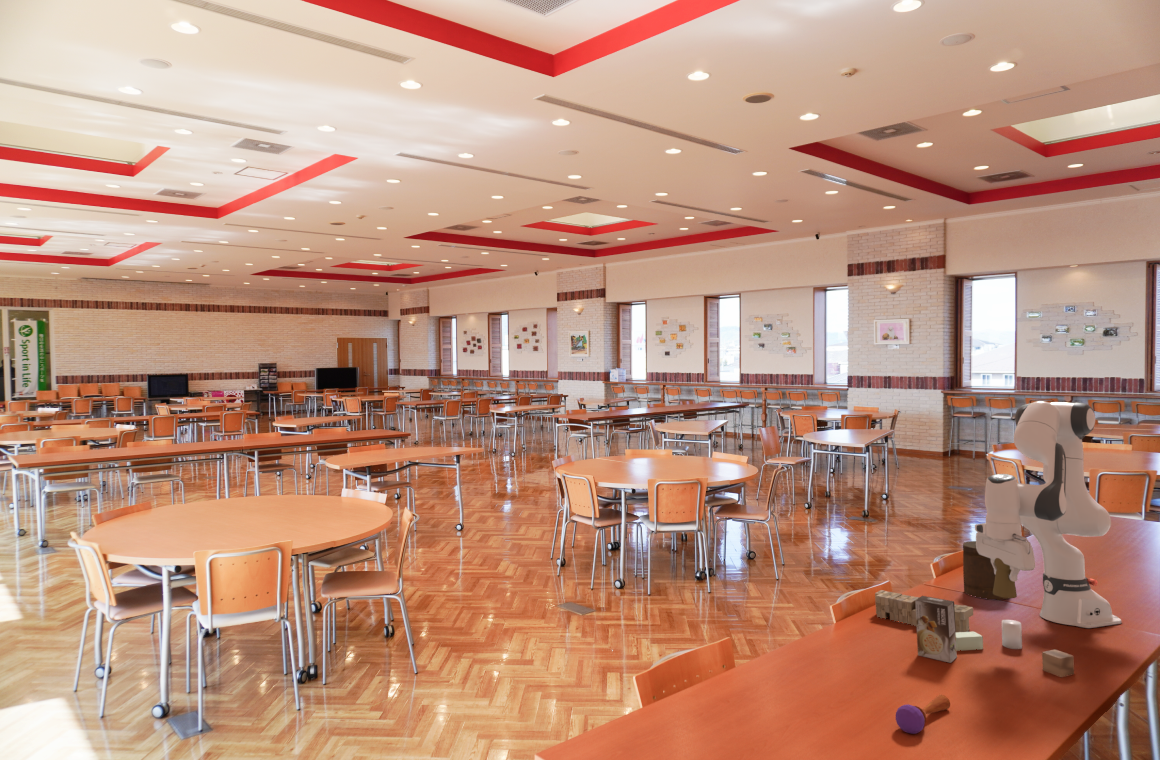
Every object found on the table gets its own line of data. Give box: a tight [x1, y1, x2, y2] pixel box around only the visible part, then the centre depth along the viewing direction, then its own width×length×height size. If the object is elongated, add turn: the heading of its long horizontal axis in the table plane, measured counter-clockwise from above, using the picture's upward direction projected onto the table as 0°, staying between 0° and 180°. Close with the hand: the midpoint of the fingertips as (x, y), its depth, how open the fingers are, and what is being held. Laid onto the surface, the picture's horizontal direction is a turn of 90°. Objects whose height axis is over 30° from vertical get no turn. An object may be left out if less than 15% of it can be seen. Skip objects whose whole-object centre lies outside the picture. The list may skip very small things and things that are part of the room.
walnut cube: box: [1041, 649, 1075, 678], centre depth 186 cm, size 5×5×5 cm
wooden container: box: [962, 540, 1009, 601], centre depth 255 cm, size 15×15×22 cm
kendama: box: [895, 694, 951, 735], centre depth 161 cm, size 6×6×20 cm
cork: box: [993, 558, 1018, 599], centre depth 201 cm, size 6×6×11 cm
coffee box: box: [915, 595, 958, 664], centre depth 199 cm, size 9×6×16 cm
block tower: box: [874, 589, 974, 632], centre depth 226 cm, size 8×8×29 cm
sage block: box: [956, 631, 984, 652], centre depth 205 cm, size 8×4×4 cm, turn 95°
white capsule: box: [1001, 619, 1023, 650], centre depth 205 cm, size 5×5×7 cm
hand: (1005, 577), depth 201 cm, fingers open, 4 cm apart
